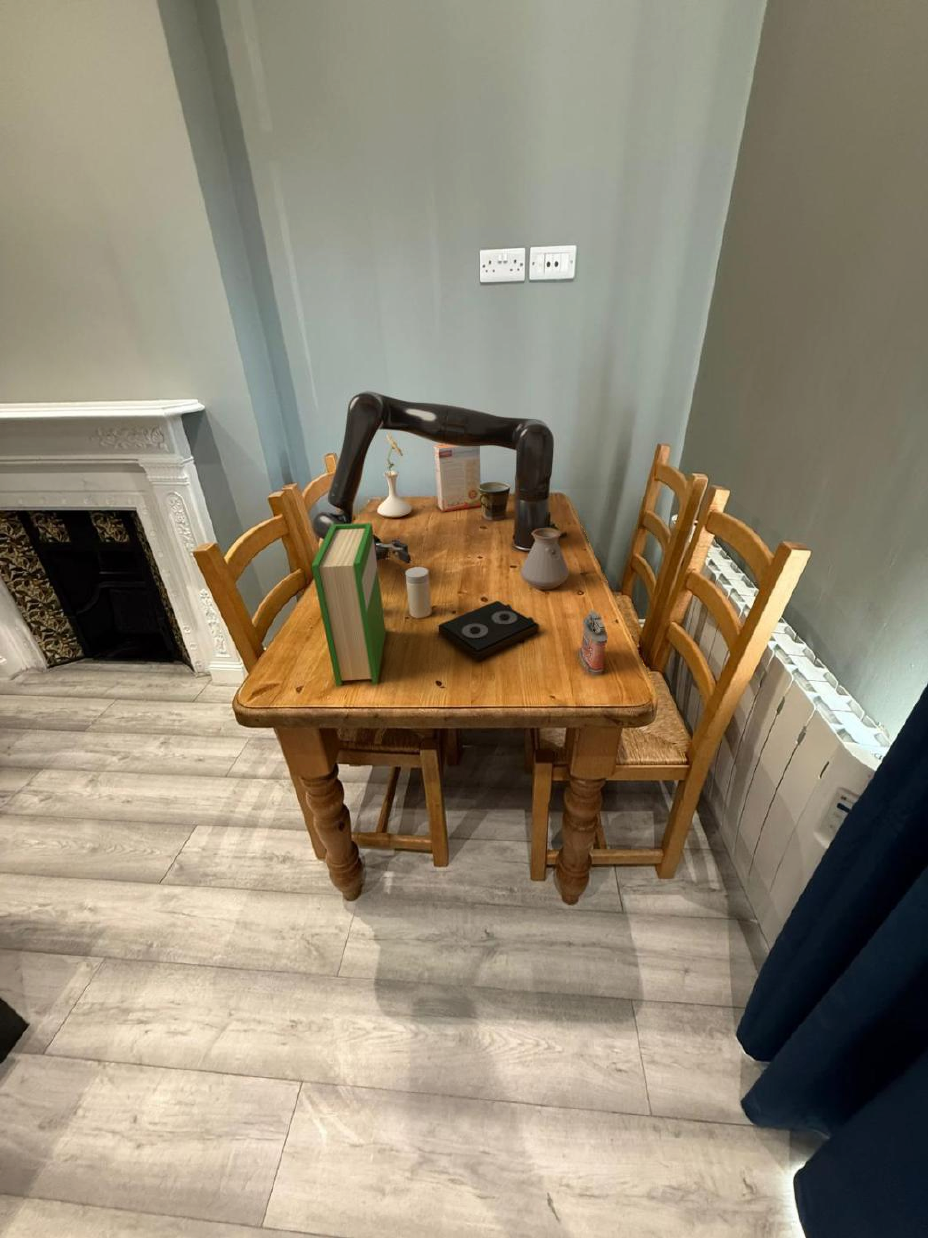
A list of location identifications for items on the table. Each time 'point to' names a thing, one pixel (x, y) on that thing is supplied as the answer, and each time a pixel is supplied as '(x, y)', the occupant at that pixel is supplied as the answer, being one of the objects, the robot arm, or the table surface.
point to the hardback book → (351, 601)
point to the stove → (488, 630)
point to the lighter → (593, 643)
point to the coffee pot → (545, 561)
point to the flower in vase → (393, 491)
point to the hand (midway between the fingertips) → (392, 564)
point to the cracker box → (457, 476)
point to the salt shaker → (418, 592)
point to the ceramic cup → (494, 499)
